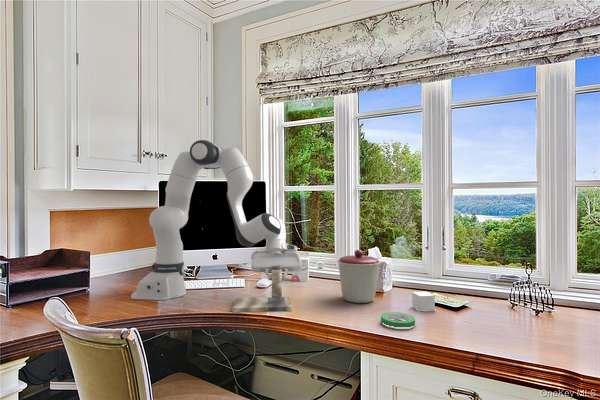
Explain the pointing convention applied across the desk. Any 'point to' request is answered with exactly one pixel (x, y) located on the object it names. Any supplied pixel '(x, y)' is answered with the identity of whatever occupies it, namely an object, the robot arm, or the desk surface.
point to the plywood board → (262, 304)
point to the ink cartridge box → (302, 269)
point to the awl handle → (276, 281)
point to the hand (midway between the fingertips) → (276, 279)
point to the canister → (358, 277)
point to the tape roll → (397, 315)
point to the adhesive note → (423, 301)
